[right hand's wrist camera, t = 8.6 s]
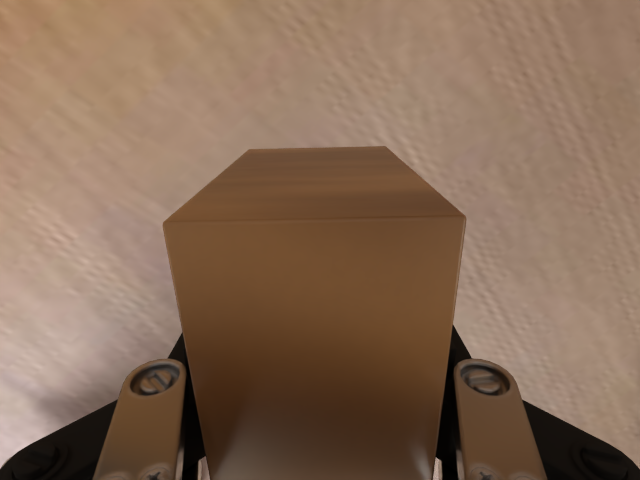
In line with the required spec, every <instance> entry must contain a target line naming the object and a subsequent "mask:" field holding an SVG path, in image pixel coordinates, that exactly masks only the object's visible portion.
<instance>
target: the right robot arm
mask: <svg viewBox="0 0 640 480" xmlns="http://www.w3.org/2000/svg"><path fill="white" fill-rule="evenodd" d="M205 456H206V454H205V449H204V443H203V438H202V433H201V427H200V422H199V417H198V411H197V406H196V401H195V395H194V390H193V385H192V379H191V374H190V369H189V364H188V358H187V353H186V348H185V342H184V337H183V332H182V334H181V336H180V337H179V339H178V341H177V343H176V345H175V346H174V348H173V350H172V352H171V353H170V355H169V357H168V359H158V360H154V361H150V362H148V363H145V364H143V365H141V366H139V367H138V368H136V369H135V370H133V371H132V372H131V373H130V374H129V375H128V376H127V377H126V379H125V381H124V383H123V386H122V389H121V392H120V395H119V398H118V400H116V401H114V402H112V403H110V404H108V405H106V406H104V407H102V408H100V409H98V410H96V411H94V412H92V413H90V414H89V415H87V416H85V417H83V418H81V419H79V420H77V421H75V422H73V423H71V424H69V425H67V426H65V427H63V428H61V429H59V430H57V431H55V432H53V433H52V434H50V435H48V436H46V437H44V438H42V439H40V440H38V441H36V442H34V443H32V444H30V445H28V446H27V447H25V448H24V449H22V450H20V451H19V452H17V453H16V454H15V455H14V456H13V457H10V458H9V459H8V460H7V461H6V462H5V463H4V464H3V465H2V467H1V469H0V480H201V469H202V464H201V459H202V458H203V457H205ZM436 457H437V458H438V459H439V464H438V469H439V480H640V469H639V468H638V467H637V466H636V465H635V463H634V462H633V461H632V460H631V459H630V458H628V457H627V456H626V455H625V454H624V453H622V452H621V451H619V450H618V449H616V448H615V447H613V446H611V445H610V444H608V443H606V442H604V441H602V440H600V439H598V438H596V437H594V436H592V435H590V434H588V433H586V432H584V431H582V430H580V429H578V428H577V427H575V426H573V425H571V424H569V423H567V422H565V421H563V420H561V419H559V418H557V417H555V416H553V415H551V414H549V413H547V412H545V411H543V410H541V409H539V408H538V407H536V406H534V405H532V404H530V403H528V402H526V401H524V400H522V398H521V395H520V392H519V389H518V386H517V383H516V381H515V379H514V377H513V376H512V375H511V374H510V373H509V372H508V371H507V370H505V369H504V368H502V367H501V366H499V365H497V364H495V363H492V362H490V361H486V360H482V359H472V358H471V356H470V354H469V352H468V350H467V349H466V347H465V345H464V343H463V342H462V340H461V338H460V336H459V334H458V333H457V331H456V329H455V327H454V325H453V326H452V334H451V342H450V349H449V357H448V365H447V373H446V380H445V388H444V396H443V404H442V411H441V419H440V427H439V435H438V442H437V450H436Z"/></svg>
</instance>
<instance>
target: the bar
mask: <svg viewBox="0 0 640 480" xmlns="http://www.w3.org/2000/svg"><path fill="white" fill-rule="evenodd" d="M465 226H466V216H465V215H464V214H463V213H461V212H460V211H459V210H458V209H457V208H456V207H455V206H453V205H452V204H451V203H450V202H449V201H448V200H447V199H445V198H444V197H443V196H442V195H441V194H440V193H439V192H437V191H436V190H435V189H434V188H433V187H432V186H430V185H429V184H428V183H427V182H426V181H425V180H424V179H422V178H421V177H420V176H419V175H418V174H417V173H416V172H414V171H413V170H412V169H411V168H410V167H409V166H408V165H406V164H405V163H404V162H403V161H402V160H401V159H399V158H398V157H397V156H396V155H395V154H394V153H393V152H391V151H390V150H389V149H388V148H387V147H385V146H377V147H332V148H287V149H249V150H248V151H247V152H245V153H244V154H243V155H242V156H241V157H240V158H238V159H237V160H236V161H235V162H234V163H233V164H231V165H230V166H229V167H228V168H227V169H225V170H224V171H223V172H222V173H221V174H220V175H218V176H217V177H216V178H215V179H214V180H212V181H211V182H210V183H209V184H208V185H207V186H205V187H204V188H203V189H202V190H201V191H200V192H198V193H197V194H196V195H195V196H194V197H192V198H191V199H190V200H189V201H188V202H187V203H185V204H184V205H183V206H182V207H181V208H180V209H178V210H177V211H176V212H175V213H174V214H172V215H171V216H170V217H169V218H168V219H167V220H165V221H164V222H163V231H164V236H165V241H166V247H167V252H168V257H169V263H170V268H171V273H172V278H173V284H174V289H175V294H176V300H177V305H178V310H179V316H180V321H181V326H182V332H183V337H184V342H185V348H186V353H187V358H188V364H189V369H190V374H191V379H192V385H193V390H194V395H195V401H196V406H197V411H198V417H199V422H200V427H201V433H202V438H203V443H204V449H205V454H206V459H207V464H208V470H209V475H210V480H433V473H434V466H435V458H436V450H437V442H438V435H439V427H440V419H441V411H442V404H443V396H444V388H445V380H446V373H447V365H448V357H449V349H450V342H451V334H452V326H453V318H454V311H455V303H456V295H457V287H458V280H459V272H460V264H461V256H462V249H463V241H464V233H465Z"/></svg>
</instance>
